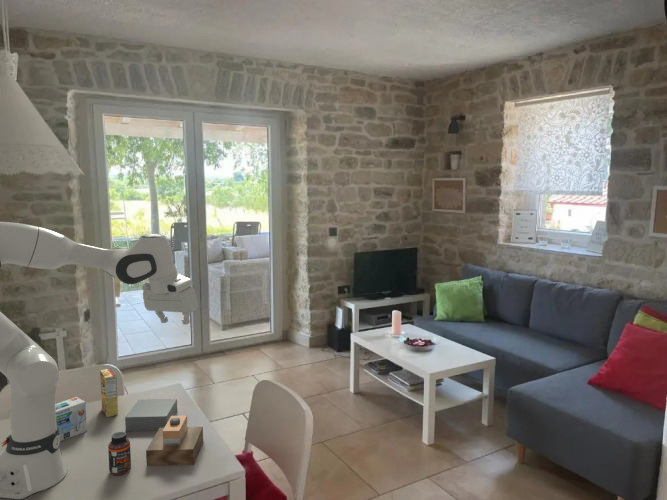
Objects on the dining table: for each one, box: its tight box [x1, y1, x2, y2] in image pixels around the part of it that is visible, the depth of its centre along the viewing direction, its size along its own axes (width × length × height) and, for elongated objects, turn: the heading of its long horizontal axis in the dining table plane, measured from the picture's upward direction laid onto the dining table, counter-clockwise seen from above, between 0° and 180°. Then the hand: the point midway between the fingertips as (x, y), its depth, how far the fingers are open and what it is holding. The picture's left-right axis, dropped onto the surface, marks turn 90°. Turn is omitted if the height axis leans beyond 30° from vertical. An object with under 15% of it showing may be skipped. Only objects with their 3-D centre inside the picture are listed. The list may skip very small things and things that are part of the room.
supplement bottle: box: [107, 431, 132, 476], centre depth 144 cm, size 6×6×11 cm
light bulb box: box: [55, 396, 88, 442], centre depth 165 cm, size 11×7×11 cm, turn 143°
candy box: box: [99, 368, 119, 418], centre depth 181 cm, size 9×4×15 cm, turn 37°
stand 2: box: [145, 426, 204, 467], centre depth 154 cm, size 14×14×5 cm
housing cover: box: [162, 414, 188, 439], centre depth 153 cm, size 10×5×4 cm, turn 3°
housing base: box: [163, 423, 188, 447], centre depth 153 cm, size 10×5×2 cm, turn 3°
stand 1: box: [124, 398, 178, 432], centre depth 175 cm, size 14×14×5 cm
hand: (175, 323), depth 157 cm, fingers open, 8 cm apart
